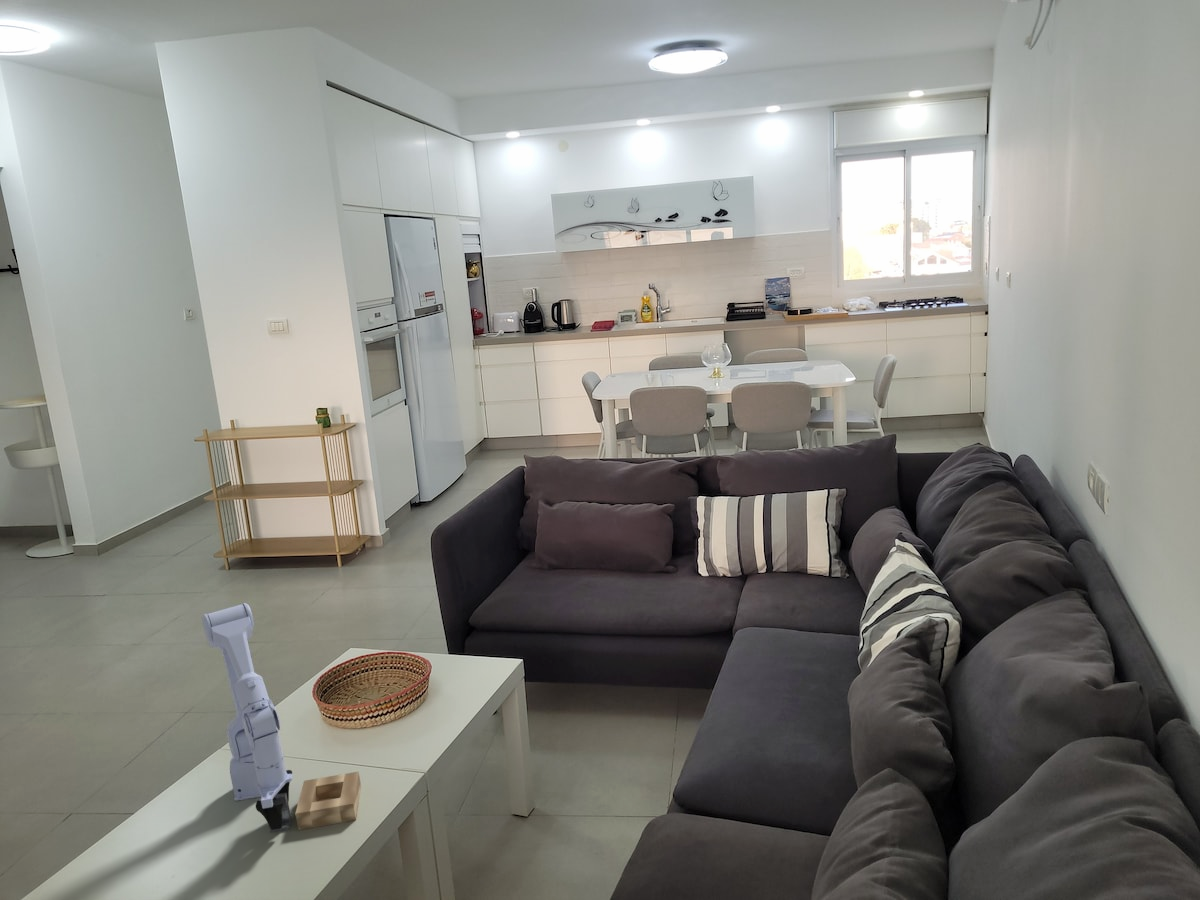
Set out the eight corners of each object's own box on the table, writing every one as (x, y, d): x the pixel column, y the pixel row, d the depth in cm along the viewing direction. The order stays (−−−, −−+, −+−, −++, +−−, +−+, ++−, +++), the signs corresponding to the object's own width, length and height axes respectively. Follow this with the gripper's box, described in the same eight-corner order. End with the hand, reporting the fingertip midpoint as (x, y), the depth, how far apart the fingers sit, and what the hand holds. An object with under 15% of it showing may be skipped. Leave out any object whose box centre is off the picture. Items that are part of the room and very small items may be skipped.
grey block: (270, 832, 189) (264, 803, 188) (273, 820, 193) (268, 792, 192) (289, 828, 190) (283, 800, 188) (292, 817, 194) (287, 789, 192)
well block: (298, 830, 189) (295, 813, 188) (307, 796, 201) (304, 780, 200) (356, 819, 191) (353, 803, 190) (361, 786, 203) (358, 771, 202)
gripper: (282, 777, 182) (293, 835, 185) (294, 739, 195) (304, 793, 199) (246, 783, 181) (258, 841, 184) (260, 744, 194) (271, 799, 198)
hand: (280, 816), depth 191 cm, fingers open, 7 cm apart
